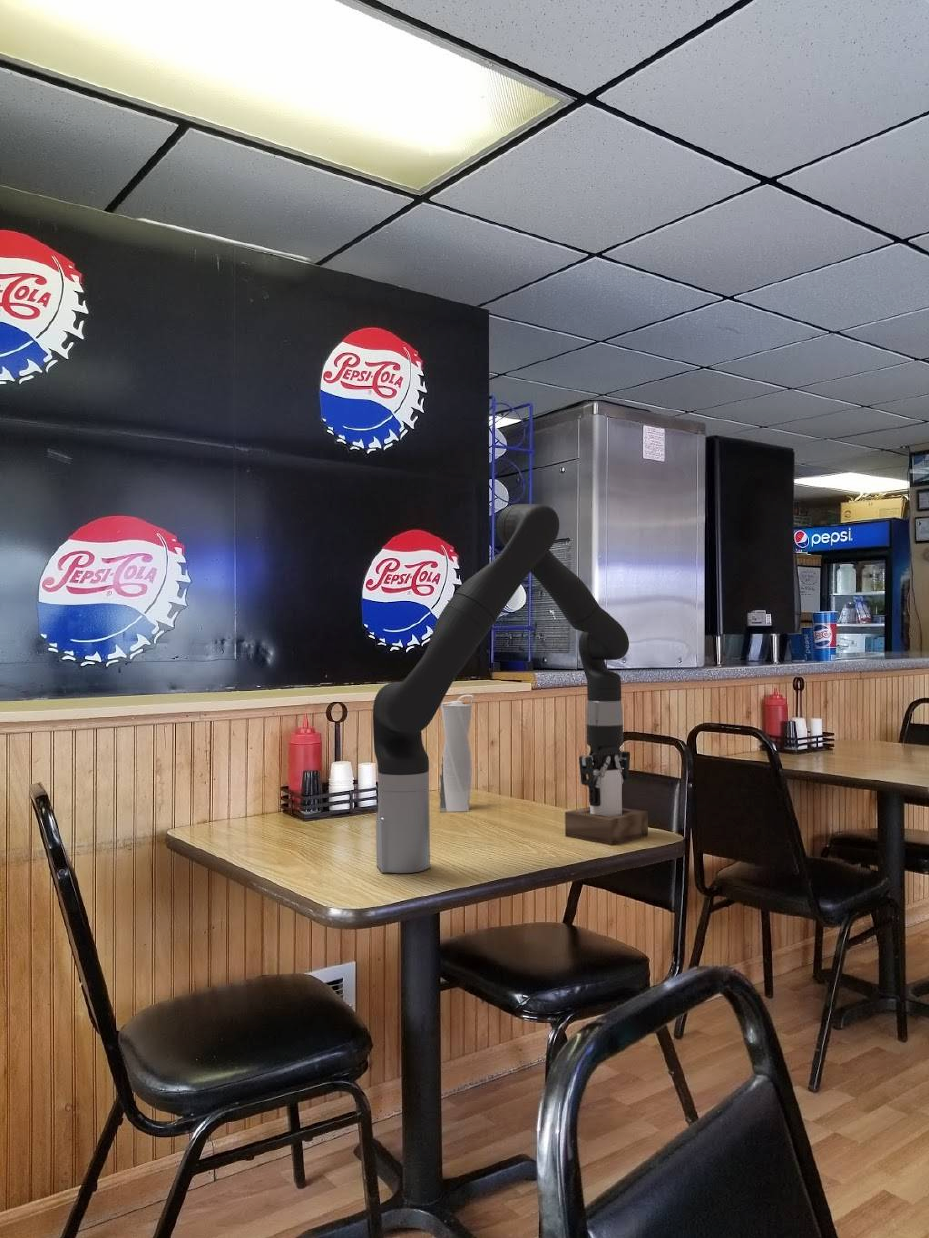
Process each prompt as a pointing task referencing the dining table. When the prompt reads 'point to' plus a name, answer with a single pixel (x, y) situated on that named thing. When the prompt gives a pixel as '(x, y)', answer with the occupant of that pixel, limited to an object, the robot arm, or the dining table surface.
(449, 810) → the grey water bottle
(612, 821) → the box
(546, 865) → the dining table surface
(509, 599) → the robot arm
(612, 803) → the can
